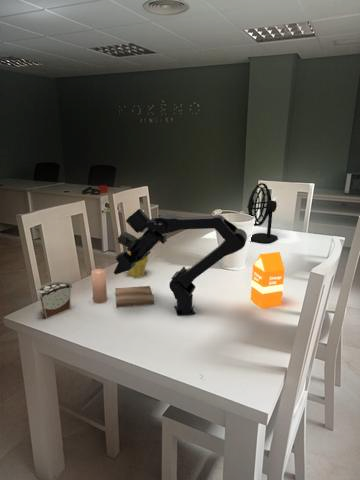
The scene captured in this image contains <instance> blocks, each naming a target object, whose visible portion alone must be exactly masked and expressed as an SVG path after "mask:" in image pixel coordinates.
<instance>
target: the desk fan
mask: <svg viewBox="0 0 360 480" xmlns="http://www.w3.org/2000/svg"><path fill="white" fill-rule="evenodd" d="M258 189H259V190H258ZM257 190H258V192H257ZM264 190H265V191H266V193H265V191H264ZM270 191H271V190H269V188H268V185H267V184H266V183H263V182H260V183H258V184H257V185H256V186H255V188H254V189H253V190H252V191H251V194H250V197H249V199H248V203H247V207H246V208H247V213H248V216H249V215H251V216H253V217H254V220H255V224H254V225H253V226H254V227H255V226H256V227H259V226H261V225H263V224H264V223H265V222H266V219H267V227H266V233H265V232H256V233H252V234H251V235H252V237H251V242H256V243H260V244H270V243H272V242H275V241H276V240H278V238H279V237H278V235H276V234H271V232H272V221H273V213H275V211H277V206H278V205H277V201H276V200H273V199H272V195H271V192H270ZM261 193H262V199H261V201H260V195H261ZM255 194H256V197H255ZM254 198H255V200H254ZM264 209H265V211H264ZM258 210H260V214H259V215H258V216H257V212H258ZM253 211H254V212H253ZM263 213H264V215H263ZM260 219H261V220H260Z"/></svg>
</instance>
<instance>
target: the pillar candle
mask: <svg viewBox="0 0 360 480" xmlns="http://www.w3.org/2000/svg"><path fill="white" fill-rule="evenodd" d="M90 272H91V274H90V275H91V287H92V301H93V303H94V304H103V303H106V302H107V301H108V293H107V292H108V290H107V271H106V269H105V268H95V269H92V270H91V271H90Z"/></svg>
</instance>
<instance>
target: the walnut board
mask: <svg viewBox="0 0 360 480" xmlns="http://www.w3.org/2000/svg"><path fill="white" fill-rule="evenodd" d="M114 290H115V302H116V303H115V304H116V306H115V307H116V308H127V307H128V308H129V307H139V306H150V305H151V306H153V305H155V298H154V296H153V292H152V288H151V285H145V286H144V285H143V286H128V287H115V289H114Z"/></svg>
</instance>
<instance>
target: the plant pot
mask: <svg viewBox="0 0 360 480" xmlns="http://www.w3.org/2000/svg"><path fill="white" fill-rule="evenodd" d="M127 253H128V254H129V255H131V253H130V251H127ZM148 262H149V255H148V256H147V257H145V258H144V259H143V260H141V261H138V262H136V263H135V264H136V265H135V266H134V267H133V268H131V269H130V270H129V271H128V274H129V277H131V278H141V277H143V276H144V275H145V271H146V267H147V263H148Z"/></svg>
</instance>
